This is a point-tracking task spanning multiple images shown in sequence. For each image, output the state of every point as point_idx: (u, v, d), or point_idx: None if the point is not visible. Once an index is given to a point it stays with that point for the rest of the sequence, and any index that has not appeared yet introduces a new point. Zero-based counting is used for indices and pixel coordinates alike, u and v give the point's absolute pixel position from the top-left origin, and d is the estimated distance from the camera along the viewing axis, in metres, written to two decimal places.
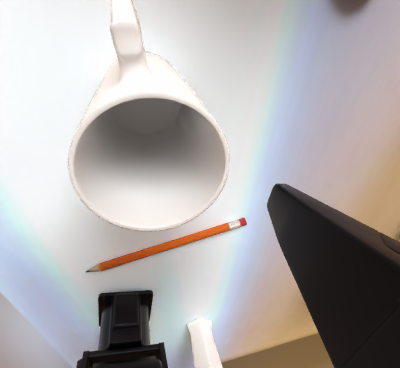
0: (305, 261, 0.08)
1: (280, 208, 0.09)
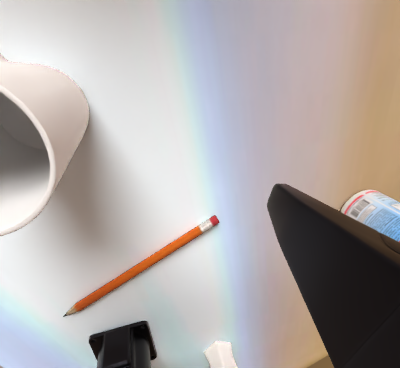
0: (305, 261, 0.08)
1: (280, 208, 0.09)
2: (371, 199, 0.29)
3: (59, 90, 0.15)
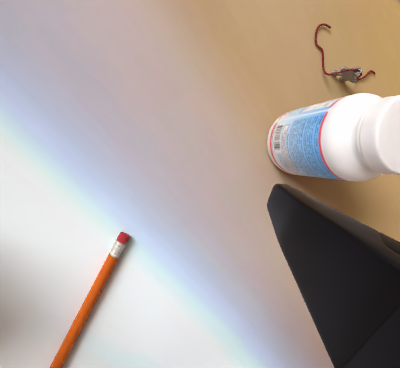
0: (305, 261, 0.08)
1: (280, 208, 0.09)
2: (283, 121, 0.23)
3: None
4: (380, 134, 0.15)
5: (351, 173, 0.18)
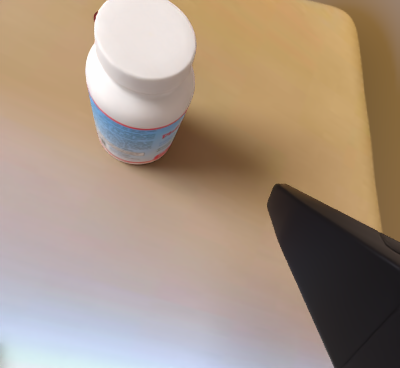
0: (305, 261, 0.08)
1: (280, 208, 0.09)
2: None
3: None
4: (107, 48, 0.12)
5: (145, 115, 0.14)
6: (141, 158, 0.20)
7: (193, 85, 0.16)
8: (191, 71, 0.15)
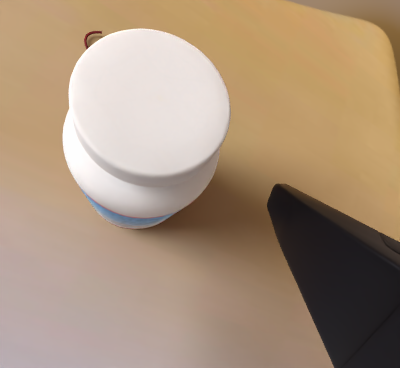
0: (305, 261, 0.08)
1: (280, 208, 0.09)
2: None
3: None
4: (88, 128, 0.07)
5: (150, 206, 0.10)
6: (143, 227, 0.16)
7: (218, 152, 0.11)
8: None
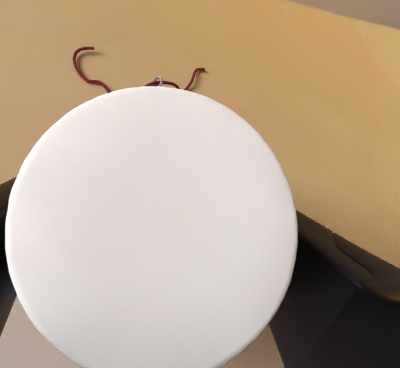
0: None
1: None
2: None
3: None
4: (42, 301, 0.04)
5: None
6: None
7: None
8: None
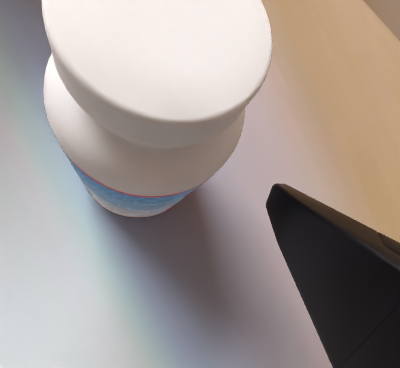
0: (304, 261, 0.08)
1: (279, 208, 0.09)
2: None
3: None
4: (71, 48, 0.05)
5: (158, 178, 0.07)
6: (146, 214, 0.13)
7: None
8: None
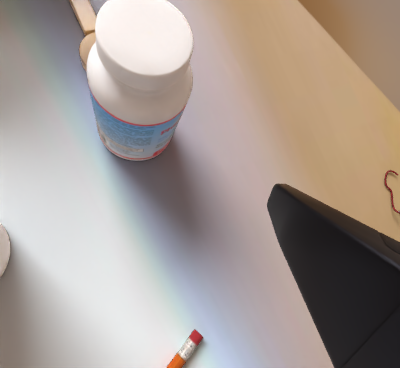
0: (305, 261, 0.08)
1: (280, 208, 0.09)
2: None
3: None
4: (107, 46, 0.12)
5: (143, 111, 0.15)
6: (140, 154, 0.21)
7: (191, 82, 0.16)
8: (189, 69, 0.16)
